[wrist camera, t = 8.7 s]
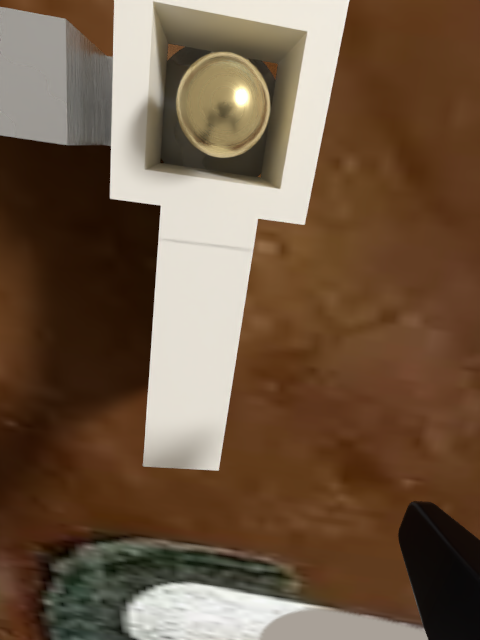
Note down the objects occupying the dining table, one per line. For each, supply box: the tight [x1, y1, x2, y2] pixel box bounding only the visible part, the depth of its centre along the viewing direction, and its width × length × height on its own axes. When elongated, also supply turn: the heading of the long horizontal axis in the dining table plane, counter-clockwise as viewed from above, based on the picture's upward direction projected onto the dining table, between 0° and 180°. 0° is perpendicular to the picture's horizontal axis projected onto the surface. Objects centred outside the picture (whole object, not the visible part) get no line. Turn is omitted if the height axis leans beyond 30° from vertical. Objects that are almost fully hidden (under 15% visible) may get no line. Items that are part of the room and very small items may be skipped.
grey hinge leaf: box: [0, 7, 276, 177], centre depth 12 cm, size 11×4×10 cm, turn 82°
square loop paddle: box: [110, 0, 349, 470], centre depth 15 cm, size 5×13×8 cm, turn 172°
